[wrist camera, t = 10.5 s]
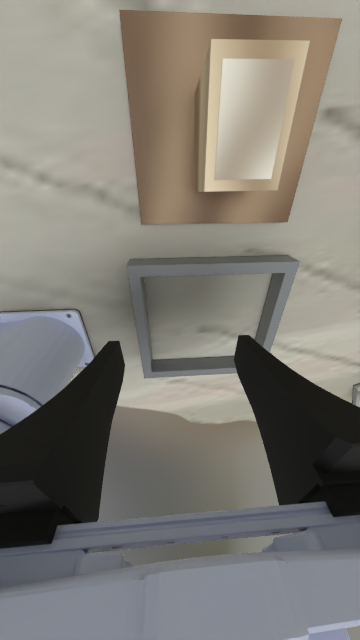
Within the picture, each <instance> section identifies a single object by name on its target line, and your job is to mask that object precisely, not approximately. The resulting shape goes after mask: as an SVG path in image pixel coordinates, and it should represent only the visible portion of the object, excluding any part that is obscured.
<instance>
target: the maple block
mask: <svg viewBox="0 0 360 640" xmlns="http://www.w3.org/2000/svg"><path fill="white" fill-rule="evenodd" d="M309 43H310V41H302V40H243V39H211V41H210V45H209V48H208V51H207V55H206V58H205V61H204V65H203V68H202V71H201V75H200V78H199V81H198V85H197V88H196V91H195V118H194V173H193V192H214V191H268V190H278V186H279V181H280V177H281V172H282V167H283V163H284V158H285V153H286V149H287V144H288V140H289V135H290V130H291V126H292V121H293V117H294V112H295V107H296V103H297V98H298V94H299V89H300V84H301V80H302V75H303V70H304V66H305V61H306V57H307V52H308V47H309Z"/></svg>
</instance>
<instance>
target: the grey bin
mask: <svg viewBox="0 0 360 640" xmlns="http://www.w3.org/2000/svg"><path fill="white" fill-rule="evenodd" d="M299 263H300V261H298V260H296V259H294V258H292V257H290V256H288V255H280V256H238V257H196V258H154V259H130V260H129V262H128V264H127V273H128V279H129V285H130V292H131V298H132V304H133V310H134V317H135V323H136V329H137V336H138V342H139V348H140V354H141V361H142V367H143V373H144V378H157V377H175V376H194V375H212V374H231V373H237V370H236V366H235V363H234V356H227V357H207V358H187V359H167V360H153V359H152V350H151V342H150V333H149V324H148V316H147V307H146V298H145V290H144V281H143V277H159V276H194V275H229V274H264V273H273V275H272V279H271V283H270V286H269V290H268V294H267V298H266V302H265V305H264V309H263V313H262V317H261V320H260V324H259V328H258V332H257V335H256V339H255V341H256V342H257V343H259V344H260V345H261V346H262V347H263V348H265V349H266V350H267V351H268V352H269V353H270V350H271V347H272V344H273V341H274V338H275V335H276V332H277V329H278V326H279V323H280V320H281V317H282V314H283V311H284V308H285V305H286V302H287V299H288V296H289V293H290V290H291V287H292V284H293V281H294V278H295V275H296V272H297V269H298V266H299Z"/></svg>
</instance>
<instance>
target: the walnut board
mask: <svg viewBox="0 0 360 640" xmlns="http://www.w3.org/2000/svg"><path fill="white" fill-rule="evenodd" d="M120 20H121V30H122V40H123V49H124V59H125V69H126V78H127V88H128V98H129V107H130V117H131V127H132V136H133V146H134V156H135V165H136V175H137V185H138V194H139V204H140V214H141V223H142V224H198V223H265V222H288V218H289V215H290V211H291V207H292V203H293V200H294V196H295V192H296V189H297V185H298V181H299V177H300V174H301V170H302V166H303V162H304V159H305V155H306V151H307V148H308V144H309V140H310V136H311V133H312V129H313V125H314V121H315V118H316V114H317V110H318V107H319V103H320V99H321V95H322V92H323V88H324V84H325V80H326V77H327V73H328V69H329V66H330V62H331V58H332V54H333V51H334V47H335V43H336V39H337V36H338V32H339V28H340V24H341V21H342V19H338V18H313V17H287V16H262V15H236V14H211V13H186V12H160V11H135V10H120ZM211 39H243V40H302V41H310V43H309V47H308V52H307V57H306V61H305V66H304V70H303V75H302V80H301V84H300V89H299V94H298V98H297V103H296V107H295V112H294V117H293V121H292V126H291V130H290V135H289V140H288V144H287V149H286V153H285V158H284V163H283V167H282V172H281V177H280V181H279V186H278V190H268V191H214V192H193V173H194V118H195V91H196V88H197V85H198V81H199V78H200V75H201V71H202V68H203V65H204V61H205V58H206V55H207V51H208V48H209V45H210V41H211Z"/></svg>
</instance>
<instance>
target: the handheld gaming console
mask: <svg viewBox="0 0 360 640" xmlns="http://www.w3.org/2000/svg"><path fill="white" fill-rule="evenodd" d="M353 388H354V389H353V404H354V405H356V406H358V407H360V384H357V385H353Z"/></svg>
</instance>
